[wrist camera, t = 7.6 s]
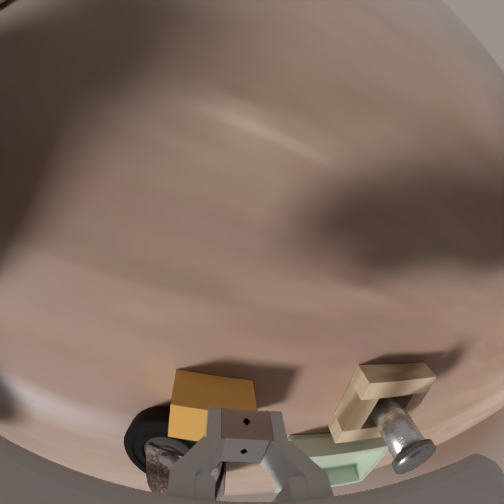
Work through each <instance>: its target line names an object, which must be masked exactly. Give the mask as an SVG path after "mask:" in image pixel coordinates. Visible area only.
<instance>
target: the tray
mask: <svg viewBox="0 0 504 504" xmlns="http://www.w3.org/2000/svg"><path fill="white" fill-rule="evenodd" d="M288 441H292V442H293V443H294V444H295V445H296V446H297V447H298V448H299V449H300V450H301V451H302V452H304V453H305V454H306V455H307V456H308V457H309V458H310V459H311V460H312V461H314V462H315V463H316V464H317V465H318V466H319V467H320V468H322V469H323V470H324V471H325V472H326V473H327V474H328V478H329V481H330V485H331V487H335V486H341V485H346V484H352V483H356V482H361V481H362V480H363V479H364V478H365V477H366V476H367V475H368V474H369V473H370V471H371V470H372V469H373V468H374V467H375V466H376V465H377V463H378V462H379V461H380V460H381V459H382V458H383V456H384V455H385V454H386V453H387V451H388V450H389V449H388V447H387V445H386V443H385V441H384V439H383V437H377V438H371V439H365V440H358V441H351V442H343V443H335V442H334V440H333V437H332V435H331V433H324V434H308V435H290V436H289V438H288ZM272 482H273V488H274V493H280V491H281V489H280V488H279V486H278V485H277V484H276V483H275V482H274V480H273V479H272Z"/></svg>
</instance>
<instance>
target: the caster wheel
mask: <svg viewBox="0 0 504 504" xmlns="http://www.w3.org/2000/svg"><path fill="white" fill-rule="evenodd" d="M169 416H170V407H153V408H148V409H146V410H144V411H141V412H140V413H139V414H138V415H137V416H136V417H135V418H134V420H133V421H132V423H131V424H130V426H129V428H128V430H127V432H126V434H125V436H124V446H125V450H126V452H127V454H128V456H129V458H130V459H131V461H132V462H133V463H134V464H135V465H136V466H137V467H138V468H139V469H140V470H142V471H143V472H145V473H146V476H147V482H148V485H149V487H150V489H151V491H152V492H154V493H159V494H165V495H167V489H168V481H169V474H170V468H171V467H172V466H173V465H174V464H176V463H177V462H178V461H179V460H180V459H181V458H182V457H183V456H184V455H185V454H186V453H187V452H188V451H189V450H190V449H191V448H192V447H193V446H194V445H195V444H196V443H197V442H198V441H192V440H186V439H179V438H173V437H168V428H169ZM210 475H212V476H213V477H214V478H215V501H220V499H221V497H222V496H223V494H224V491H225V477H226V461H220V462H219V464H218V465H217V466H216V468H215V469H214V470H213V471H212V473H211V474H210Z"/></svg>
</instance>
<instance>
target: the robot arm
mask: <svg viewBox="0 0 504 504" xmlns="http://www.w3.org/2000/svg"><path fill="white" fill-rule="evenodd" d="M220 461H227V462H247V463H261V465H262V467H263V468H264V469H265V471H266V472H267V473H268V474H269V475H270V477H271V478H272V479H273V480H274V482H275V483H276V484H277V485H278V486H279V488H280V489H281V491H280V493H279V494H278V495H277V497H276V498H275V500H274V501H273V502H226V501H215V478H214V477H213V476H212V475H210V474H211V473H212V471H213V470H214V469H215V468H216V466H217V465H218V464H219V462H220ZM0 504H504V473H503V471H502V470H501V468H500V467H499V465H498V464H497V463H496V462H494V461H492V460H491V459H489V458H487V457H485V456H483V455H480V454H473V455H470V456H468V457H466V458H464V459H462V460H459V461H457V462H454V463H452V464H450V465H447V466H445V467H442V468H440V469H437V470H435V471H432V472H429V473H426V474H423V475H420V476H417V477H414V478H411V479H408V480H405V481H401V482H398V483H394V484H391V485H387V486H383V487H379V488H375V489H370V490H366V491H361V492H356V493H352V494H345V495H339V496H333V492H332V489H331V485H330V481H329V478H328V474H327V473H326V472H325V471H324V470H323V469H322V468H320V467H319V466H318V465H317V464H316V463H315V462H314V461H312V460H311V459H310V458H309V457H308V456H307V455H306V454H305V453H304V452H302V451H301V450H300V449H299V448H298V447H297V446H296V445H295V444H294V443H293V442H292V441H288V440H287V436H286V431H285V426H284V421H283V416H282V413H281V412H278V411H257V410H238V409H229V408H220V407H213V406H208V411H207V418H206V426H205V436H203V437H202V438H201V439H200V440H199V441H198V442H197V443H196V444H195V445H194V446H193V447H192V448H191V449H190V450H189V451H188V452H187V453H186V454H185V455H184V456H183V457H182V458H181V459H180V460H179V461H178V462H177V463H176V464H174V465H173V466H172V467H171V468H170V474H169V481H168V489H167V495H165V494H159V493H154V492H149V491H144V490H140V489H135V488H131V487H127V486H123V485H119V484H116V483H112V482H109V481H105V480H102V479H99V478H96V477H92V476H89V475H86V474H84V473H81V472H78V471H75V470H73V469H70V468H67V467H65V466H62V465H60V464H57V463H55V462H53V461H50V460H48V459H46V458H44V457H41V456H39V455H37V454H35V453H33V452H31V451H29V450H27V449H25V448H23V447H21V446H19V445H17V444H15V443H13V442H12V441H10V440H8V439H6V438H5V437H3V436H1V435H0Z"/></svg>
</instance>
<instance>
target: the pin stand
mask: <svg viewBox="0 0 504 504" xmlns="http://www.w3.org/2000/svg"><path fill="white" fill-rule="evenodd" d="M436 377H437V376H436V375H435V374H434V373H433V372H432V371H431V369H430V368H429V367H428V366H427V365H426V364H425V363H424V362H416V363H401V364H381V365H358V367H357V369H356V371H355V373H354V375H353V378H352V380H351V382H350V384H349V386H348V388H347V390H346V392H345V394H344V396H343V398H342V400H341V402H340V404H339V406H338V408H337V409H336V411H335V413H334V415H333V417H332V419H331V421H330V422H329V424H328V427H329V429H330V432H331V435H332V437H333V440H334V442H335V443H343V442H351V441H358V440H365V439H371V438H377V437H382V436H381V434H380V432H379V430H378V428H377V426H376V424H375V423H374V421H373V419H372V417H371V415H370V413H371V411H372V410H373V408H374V406H375V405H376V403H377V401H378V400H379V398H388V397H397V398H398V399H399V401H400V402H401V404H402V405H403V407H404V408H405V410H406V411H407V413H408V414H409V416H410V417H412V415H413V414H414V412H415V411H416V409H417V408H418V406H419V405H420V403H421V402H422V400H423V399H424V397H425V395H426V394H427V392H428V390H429V389H430V387H431V385H432V384H433V382H434V380H435V379H436Z"/></svg>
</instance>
